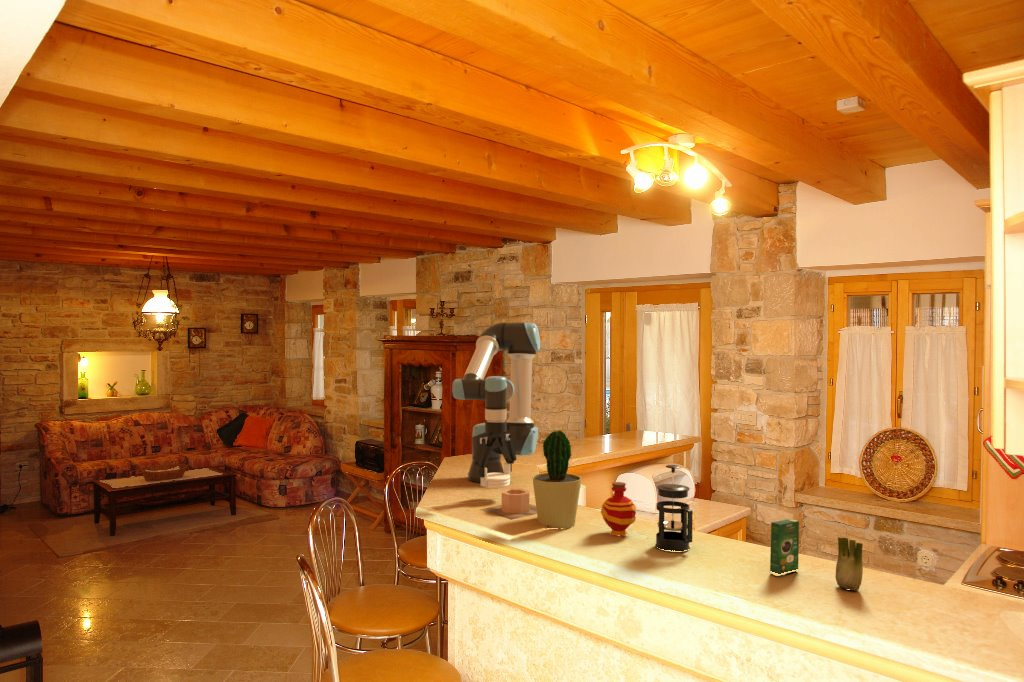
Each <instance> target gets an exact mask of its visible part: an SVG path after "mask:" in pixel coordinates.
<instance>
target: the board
mask: <svg viewBox="0 0 1024 682" xmlns="http://www.w3.org/2000/svg"><path fill="white" fill-rule="evenodd" d="M479 511H483V512H486V513H489V514H492V515H495V516H498V517H502V518H503V519H504V518H505V519H509V520H515V519H521V518H524V517H529V516H533V515H537V509H536V504H531V503H529V512H525V513H521V514H520V513H507V512H503V511H502V504H499V505H495V506H491V507H489V506H488V507H486V508H480V509H479Z"/></svg>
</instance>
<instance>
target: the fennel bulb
mask: <svg viewBox="0 0 1024 682" xmlns="http://www.w3.org/2000/svg"><path fill="white" fill-rule="evenodd" d="M837 543H838V544H837V545H838V548H837V549H838V556H837V561H836V565H835V566H836V567H835V580H836V584H837V585H838V587H840V588H841V587H842V588H841V589H843V588H845V589H850V590H858V591H859V590H860V587H861V585H862V579H863V572H864V571H863V570H864V569H863V567H864V566H863V545H864V544H863V543H862V542H861V541H857V540H856V539H852V538H851V539H849V538H848V537H844V536H838V537H837ZM845 589H844V590H845Z"/></svg>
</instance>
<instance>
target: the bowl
mask: <svg viewBox="0 0 1024 682" xmlns="http://www.w3.org/2000/svg"><path fill="white" fill-rule="evenodd" d="M529 504H530V490H528V489H524V488H507V489H503V490H502V491H501V505H502V511H503V512H507V513H520V514H521V513H525V512H529Z"/></svg>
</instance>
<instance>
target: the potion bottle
mask: <svg viewBox="0 0 1024 682" xmlns="http://www.w3.org/2000/svg"><path fill="white" fill-rule="evenodd" d="M611 484H612V487H611V491H613V494H612V495H611V497H607V498H606V499H605V501H604V502H603V503H602V505H601V510H600V514H601V516H602V519H603V521H604V522H605V524H606V525H607V526H608V527H609V528H610V529H611V530H610V532H609V534H610V533H611V534H610V535H612V534H613V535H612V536H614V535H626V534H627V535H628V532H627V529H628V528H629V527H630V526H631V525H633V524H634V523H635V522H636V519H637V517H636V514H637V506H636V504H634V502H633V500H632V499H631V498H629V497H627V496H625V492H626V491H627V487H626V485H627V482H622V481H621V482H620V481H614V482H612V483H611ZM627 535H626V536H627Z"/></svg>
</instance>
